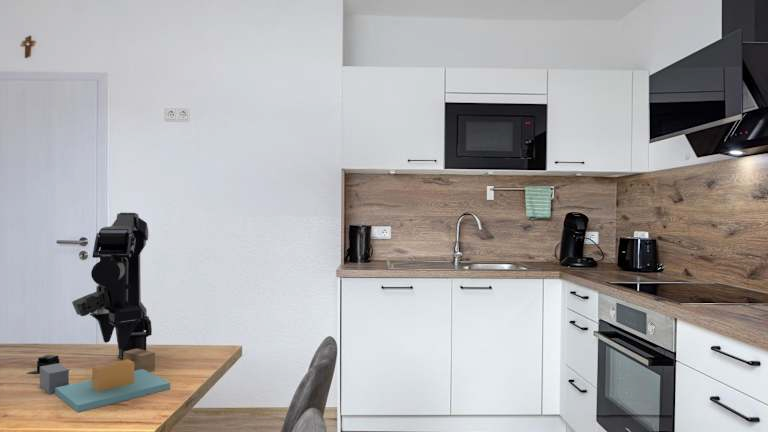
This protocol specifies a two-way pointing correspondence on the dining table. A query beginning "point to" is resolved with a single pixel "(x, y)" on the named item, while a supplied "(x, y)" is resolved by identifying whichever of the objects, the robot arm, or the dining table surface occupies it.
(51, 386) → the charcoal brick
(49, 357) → the black angular block
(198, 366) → the dining table surface
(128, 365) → the orange brick
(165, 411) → the dining table surface
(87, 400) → the teal board
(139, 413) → the dining table surface
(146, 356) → the walnut brick
